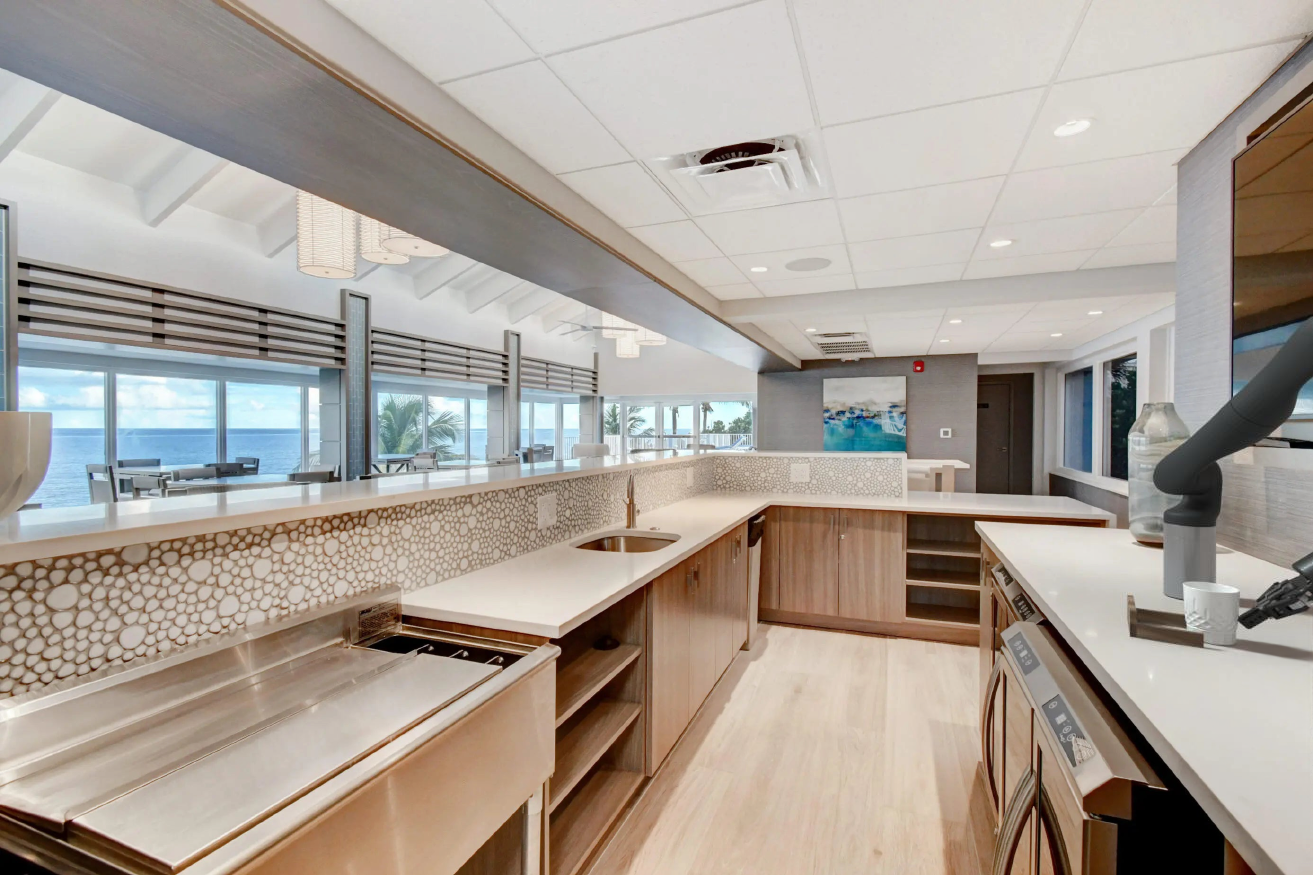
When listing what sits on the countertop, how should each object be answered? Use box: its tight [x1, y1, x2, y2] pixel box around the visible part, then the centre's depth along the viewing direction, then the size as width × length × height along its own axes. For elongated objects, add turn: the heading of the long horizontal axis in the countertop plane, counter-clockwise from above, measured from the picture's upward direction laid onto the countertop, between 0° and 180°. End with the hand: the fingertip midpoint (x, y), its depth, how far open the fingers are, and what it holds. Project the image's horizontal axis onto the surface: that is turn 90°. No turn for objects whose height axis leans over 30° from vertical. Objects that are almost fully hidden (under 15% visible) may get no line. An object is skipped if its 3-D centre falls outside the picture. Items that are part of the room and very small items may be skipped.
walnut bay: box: [1126, 594, 1205, 649], centre depth 115 cm, size 13×10×5 cm
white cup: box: [1183, 582, 1241, 646], centre depth 111 cm, size 8×8×10 cm
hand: (1241, 624), depth 109 cm, fingers closed
